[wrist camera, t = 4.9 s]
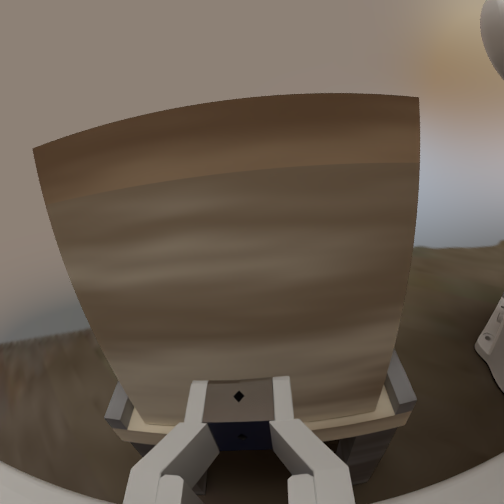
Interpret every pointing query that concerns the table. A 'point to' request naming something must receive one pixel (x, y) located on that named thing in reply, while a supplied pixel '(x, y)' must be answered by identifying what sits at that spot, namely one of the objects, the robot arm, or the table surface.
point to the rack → (344, 428)
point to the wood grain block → (242, 244)
